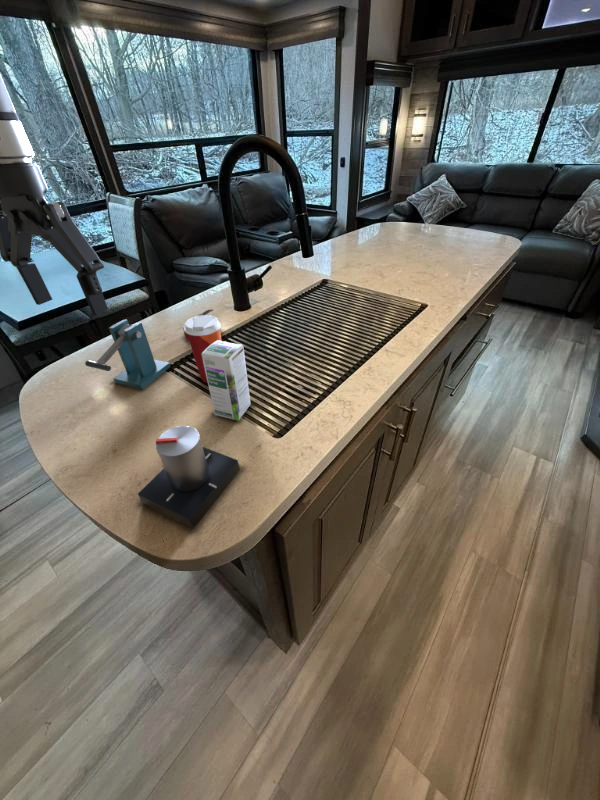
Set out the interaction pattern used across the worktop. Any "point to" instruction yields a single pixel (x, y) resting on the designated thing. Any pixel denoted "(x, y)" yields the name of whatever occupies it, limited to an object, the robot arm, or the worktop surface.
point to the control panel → (192, 503)
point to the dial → (183, 458)
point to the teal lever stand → (136, 357)
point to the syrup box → (227, 379)
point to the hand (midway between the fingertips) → (71, 306)
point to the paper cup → (202, 337)
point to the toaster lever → (109, 351)
